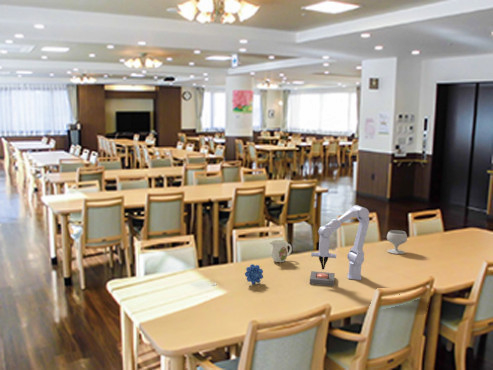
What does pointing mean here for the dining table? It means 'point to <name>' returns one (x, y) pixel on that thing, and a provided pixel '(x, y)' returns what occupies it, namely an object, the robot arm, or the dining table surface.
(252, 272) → the grapes
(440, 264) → the dining table surface
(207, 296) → the paper
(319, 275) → the button
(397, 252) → the chalice
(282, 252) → the pitcher
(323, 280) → the button housing
